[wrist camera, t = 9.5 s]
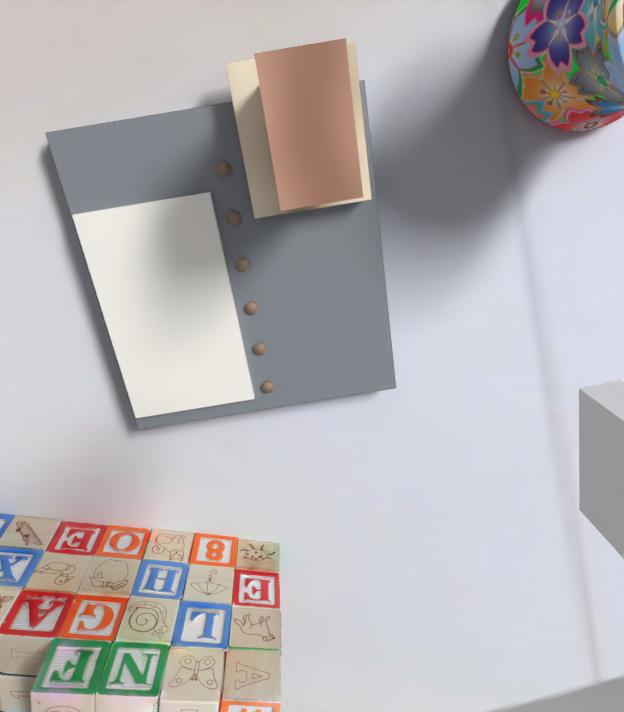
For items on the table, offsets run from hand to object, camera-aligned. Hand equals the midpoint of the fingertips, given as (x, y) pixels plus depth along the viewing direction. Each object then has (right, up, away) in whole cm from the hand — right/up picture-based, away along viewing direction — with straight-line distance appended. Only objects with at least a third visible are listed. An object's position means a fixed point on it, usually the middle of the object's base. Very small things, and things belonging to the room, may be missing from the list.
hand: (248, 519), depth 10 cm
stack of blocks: (-12, -11, +28) cm, 33 cm away
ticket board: (-3, +8, +21) cm, 22 cm away
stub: (+1, +14, +17) cm, 22 cm away
